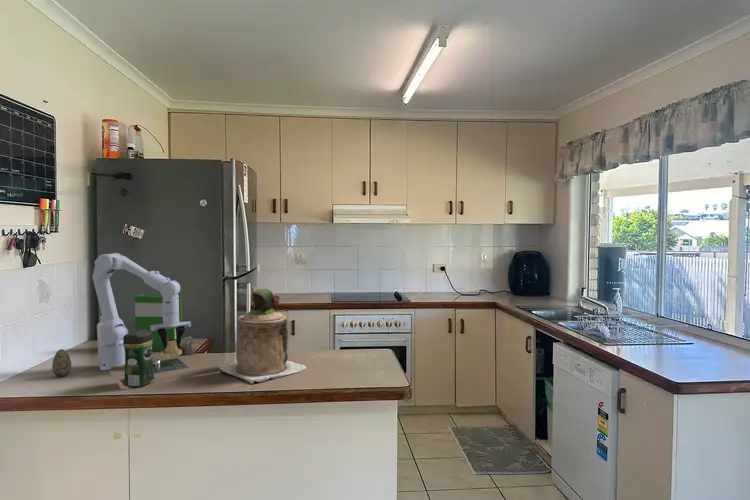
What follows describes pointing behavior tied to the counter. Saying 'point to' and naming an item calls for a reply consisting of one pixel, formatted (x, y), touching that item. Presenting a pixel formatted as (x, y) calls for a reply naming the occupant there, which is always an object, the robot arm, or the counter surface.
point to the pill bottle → (99, 332)
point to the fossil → (187, 346)
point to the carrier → (167, 365)
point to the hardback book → (153, 317)
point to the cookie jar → (262, 342)
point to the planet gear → (171, 348)
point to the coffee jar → (138, 358)
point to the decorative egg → (61, 363)
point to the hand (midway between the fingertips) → (171, 347)
